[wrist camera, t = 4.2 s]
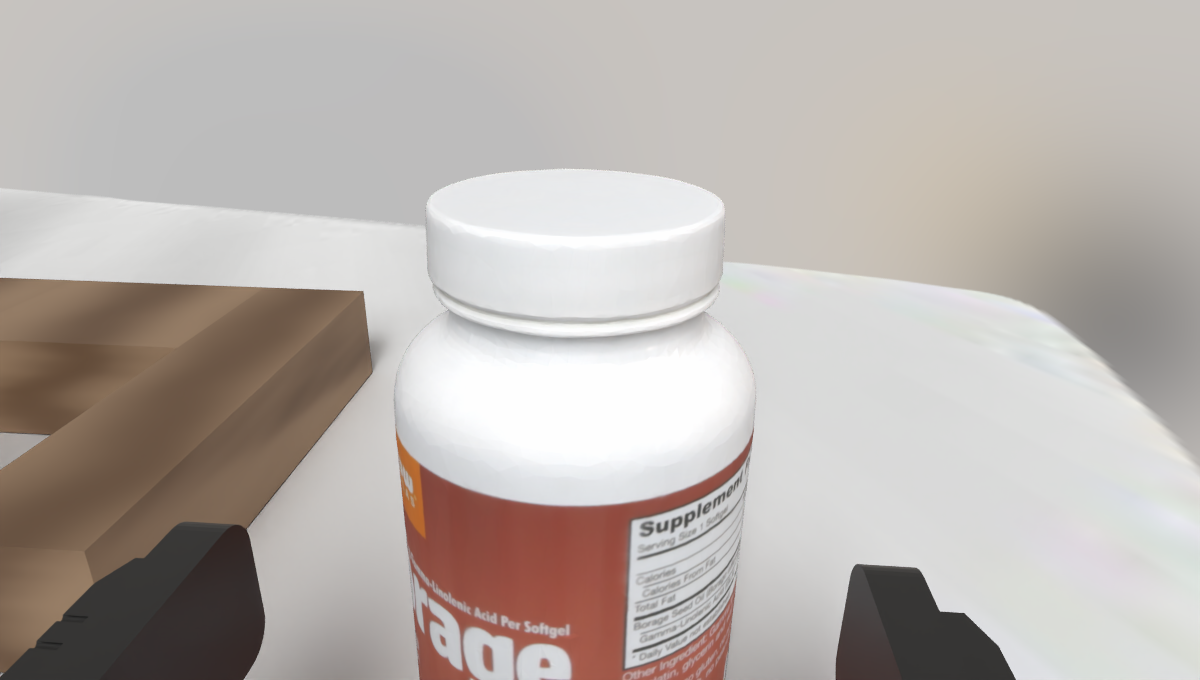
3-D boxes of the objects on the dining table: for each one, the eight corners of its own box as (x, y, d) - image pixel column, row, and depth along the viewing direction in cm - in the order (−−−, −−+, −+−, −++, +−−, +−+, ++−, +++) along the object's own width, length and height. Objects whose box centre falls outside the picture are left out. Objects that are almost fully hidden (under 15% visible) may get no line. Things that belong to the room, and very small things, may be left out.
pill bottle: (370, 704, 17) (299, 189, 12) (586, 576, 21) (588, 149, 16) (553, 941, 12) (542, 284, 8) (782, 724, 16) (856, 201, 12)
